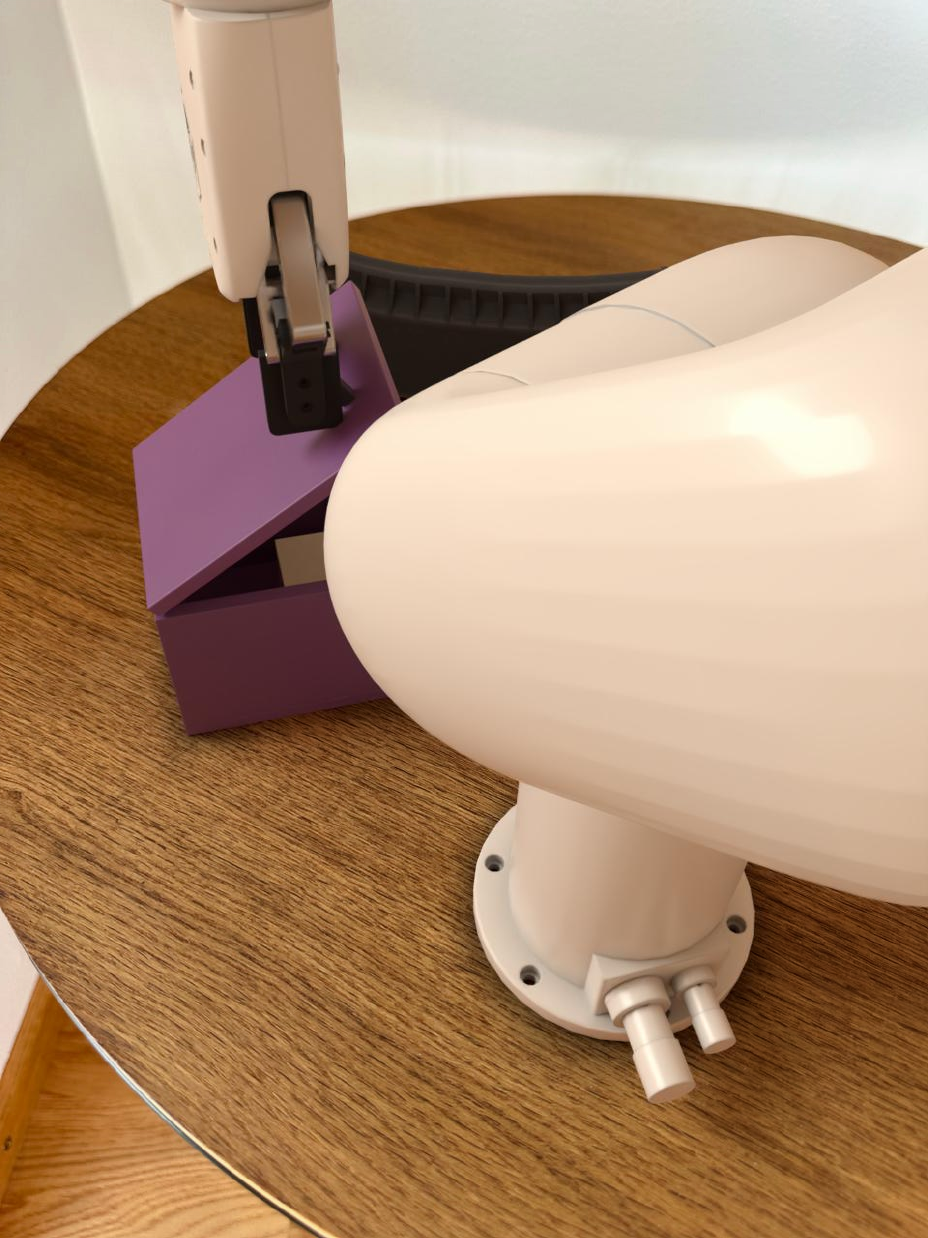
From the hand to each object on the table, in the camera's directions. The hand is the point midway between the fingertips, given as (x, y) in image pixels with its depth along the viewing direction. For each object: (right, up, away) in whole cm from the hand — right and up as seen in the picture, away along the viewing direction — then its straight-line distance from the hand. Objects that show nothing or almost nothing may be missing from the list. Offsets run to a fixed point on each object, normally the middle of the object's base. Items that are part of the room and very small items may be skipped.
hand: (294, 384), depth 48 cm
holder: (-1, -11, +12) cm, 16 cm away
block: (0, -10, +11) cm, 16 cm away
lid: (-2, -3, +2) cm, 4 cm away
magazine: (+11, +5, +27) cm, 30 cm away
